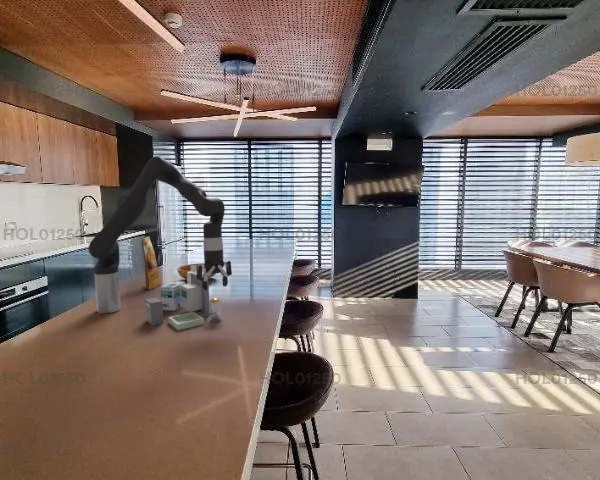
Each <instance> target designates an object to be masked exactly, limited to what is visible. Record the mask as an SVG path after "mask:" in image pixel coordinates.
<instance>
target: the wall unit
mask: <svg viewBox="0 0 600 480" xmlns="http://www.w3.org/2000/svg"><path fill="white" fill-rule="evenodd" d="M202 276H203V275H202ZM206 281H207V290H204V289H203V288H202V281H201V280H198V279H197V273H195V272H193V273H191V283H190V284H187V283H185V284H184V285H180V286H181V305H182V307H181V308H182V309H184V310H185V311H187V313H189V312H195V313H196V314H198V315H199V316H201V317H203V318H204V317H208V316H210V287H209V283H210V282H209V278H207V280H206Z"/></svg>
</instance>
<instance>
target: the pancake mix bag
mask: <svg viewBox="0 0 600 480" xmlns="http://www.w3.org/2000/svg"><path fill="white" fill-rule="evenodd" d="M141 249H142V254H143V261H144V272H145V276H144V277H145V289H146V290H152V289H155V288H156V287H158V286H159V285H160V284H161V277H160V274H159V269H158V263H157V259H156V254H155V250H154V247H153V243H152V241H151V238H150V235H148V236H146V237H143V238H142V240H141Z"/></svg>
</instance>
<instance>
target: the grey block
mask: <svg viewBox="0 0 600 480" xmlns="http://www.w3.org/2000/svg"><path fill="white" fill-rule="evenodd" d="M144 303H145V319H146V322H147V323H148V324H149V325H151V326H156V325H160V324H164V310H163V306H162V301H161V298H160V299H159V297H151V298H150V297H149V298H146V299H144Z"/></svg>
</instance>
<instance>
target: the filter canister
mask: <svg viewBox="0 0 600 480" xmlns="http://www.w3.org/2000/svg"><path fill="white" fill-rule="evenodd" d="M209 306H210V315H209V316H210V322H216V323H217V322H220V321H222V300H221V299H220V298H219V297H213V298H211V300H210V299H209Z"/></svg>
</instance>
